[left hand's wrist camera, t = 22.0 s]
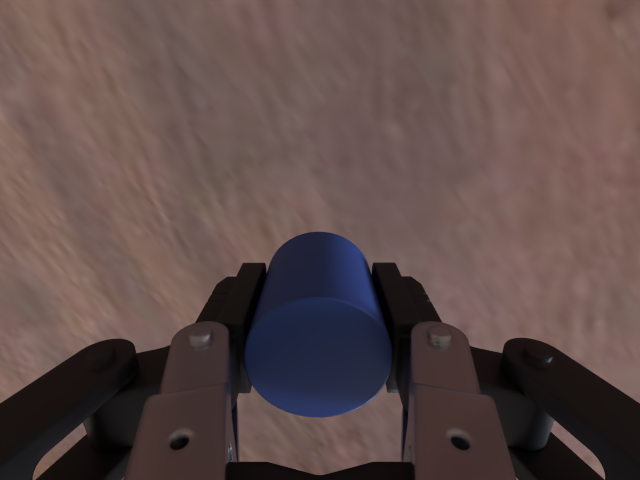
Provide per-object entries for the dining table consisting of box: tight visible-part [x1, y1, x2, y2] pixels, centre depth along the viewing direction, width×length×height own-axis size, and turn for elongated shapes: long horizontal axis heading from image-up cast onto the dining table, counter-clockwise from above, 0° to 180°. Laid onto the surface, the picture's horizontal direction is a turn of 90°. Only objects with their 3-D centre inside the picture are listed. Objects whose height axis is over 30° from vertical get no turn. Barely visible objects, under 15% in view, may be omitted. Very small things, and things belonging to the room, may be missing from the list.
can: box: [243, 232, 393, 417], centre depth 11 cm, size 4×4×4 cm
